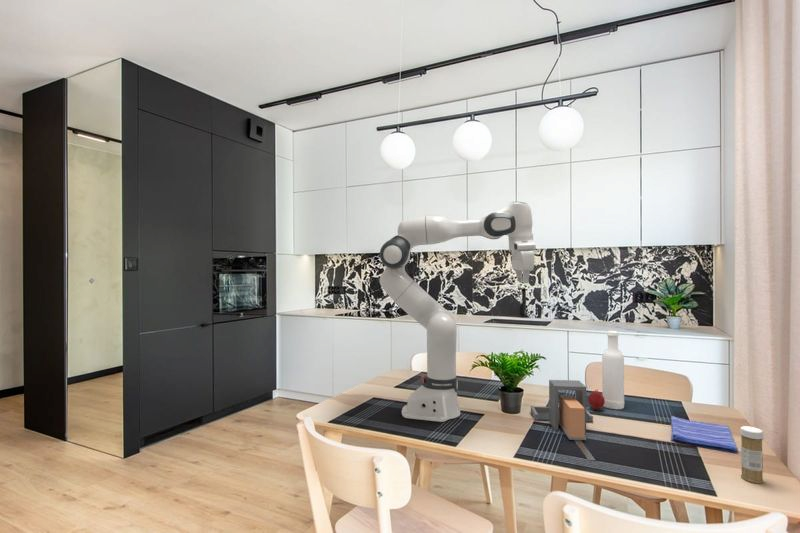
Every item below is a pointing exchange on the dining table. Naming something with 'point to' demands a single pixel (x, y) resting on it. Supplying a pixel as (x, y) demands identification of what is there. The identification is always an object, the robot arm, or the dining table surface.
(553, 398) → the tunnel
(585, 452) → the rail
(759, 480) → the sprinkles bottle
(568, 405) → the orange rectangular block
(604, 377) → the bottle
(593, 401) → the onion
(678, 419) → the dish towel
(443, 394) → the robot arm
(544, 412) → the tray
